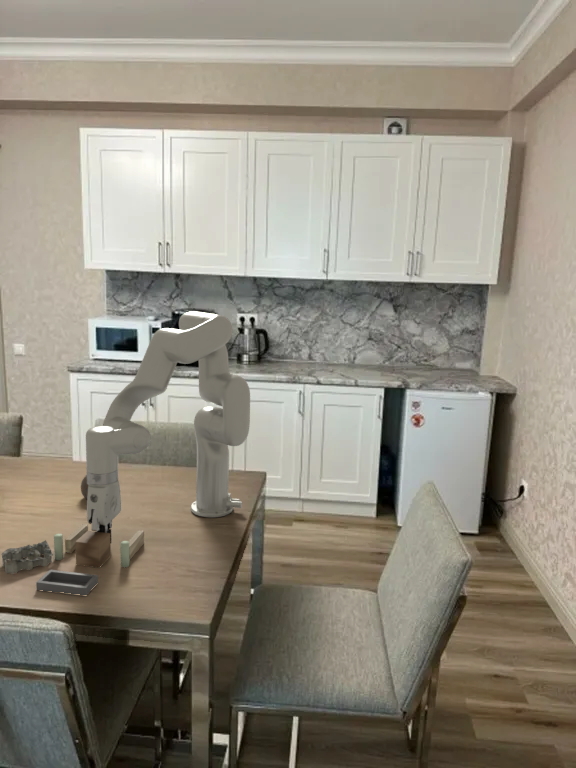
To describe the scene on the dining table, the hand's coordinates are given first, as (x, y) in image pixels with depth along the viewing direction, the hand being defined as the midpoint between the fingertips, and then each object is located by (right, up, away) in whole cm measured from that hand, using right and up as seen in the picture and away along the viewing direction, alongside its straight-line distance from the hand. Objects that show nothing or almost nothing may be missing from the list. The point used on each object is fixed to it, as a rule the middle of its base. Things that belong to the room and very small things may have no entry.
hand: (104, 544), depth 146 cm
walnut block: (-1, -2, -5) cm, 6 cm away
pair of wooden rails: (0, -1, +1) cm, 2 cm away
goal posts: (-1, -3, -6) cm, 7 cm away
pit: (-3, -5, -17) cm, 18 cm away
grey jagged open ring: (-16, -3, -8) cm, 18 cm away
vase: (-14, +5, +32) cm, 35 cm away
